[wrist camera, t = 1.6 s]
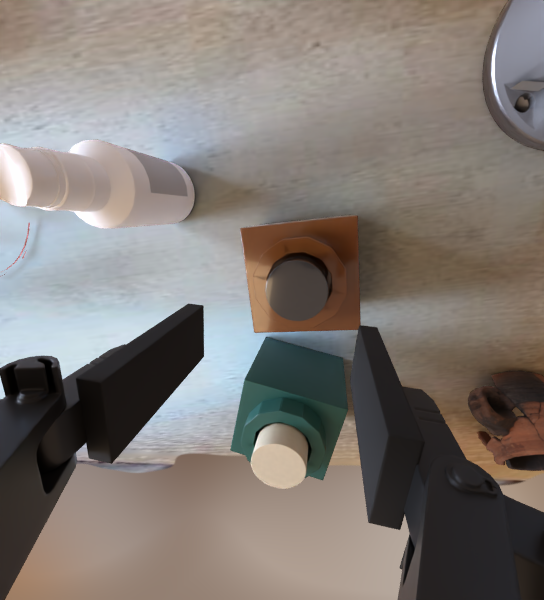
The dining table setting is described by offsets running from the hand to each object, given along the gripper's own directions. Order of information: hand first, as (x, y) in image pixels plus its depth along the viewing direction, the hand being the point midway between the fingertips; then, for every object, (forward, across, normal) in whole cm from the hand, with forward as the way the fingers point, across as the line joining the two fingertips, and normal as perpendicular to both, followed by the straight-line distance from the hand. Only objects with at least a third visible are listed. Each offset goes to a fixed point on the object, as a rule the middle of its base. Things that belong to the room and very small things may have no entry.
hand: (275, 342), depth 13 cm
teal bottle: (+21, 0, -15) cm, 26 cm away
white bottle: (+21, -17, +7) cm, 28 cm away
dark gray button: (+11, 0, 0) cm, 11 cm away
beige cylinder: (+9, 0, -15) cm, 18 cm away
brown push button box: (+21, 0, 0) cm, 21 cm away
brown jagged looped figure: (+21, +24, -14) cm, 35 cm away
